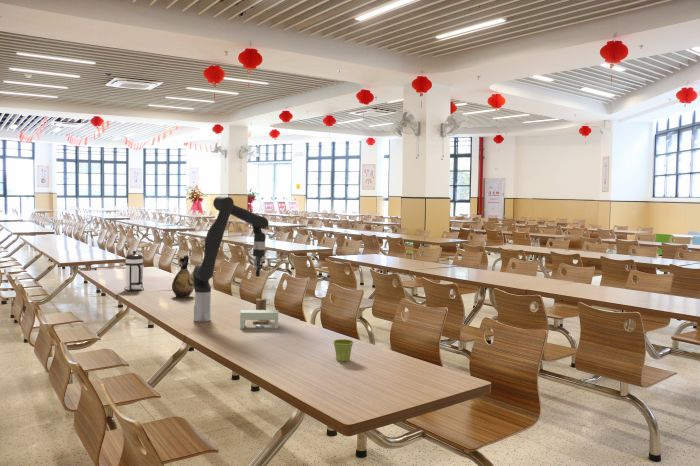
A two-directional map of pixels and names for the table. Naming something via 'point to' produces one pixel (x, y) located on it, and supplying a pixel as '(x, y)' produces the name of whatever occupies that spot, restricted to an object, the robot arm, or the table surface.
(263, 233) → the robot arm
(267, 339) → the table surface
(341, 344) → the plant pot
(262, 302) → the brown wooden block
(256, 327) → the disc
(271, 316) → the pale green bench
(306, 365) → the table surface
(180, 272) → the ceramic jug
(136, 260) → the coffee press
